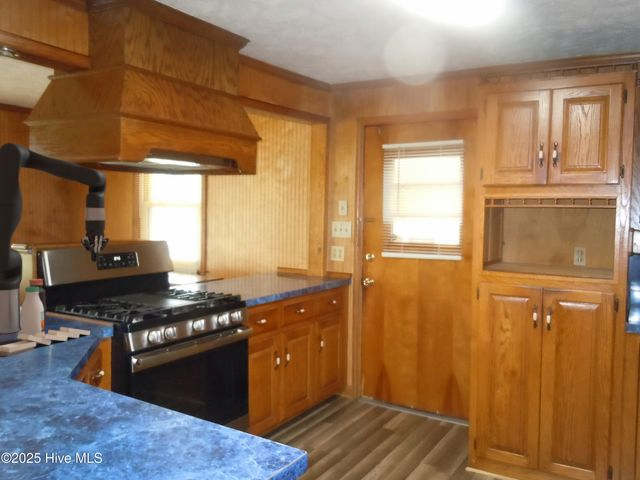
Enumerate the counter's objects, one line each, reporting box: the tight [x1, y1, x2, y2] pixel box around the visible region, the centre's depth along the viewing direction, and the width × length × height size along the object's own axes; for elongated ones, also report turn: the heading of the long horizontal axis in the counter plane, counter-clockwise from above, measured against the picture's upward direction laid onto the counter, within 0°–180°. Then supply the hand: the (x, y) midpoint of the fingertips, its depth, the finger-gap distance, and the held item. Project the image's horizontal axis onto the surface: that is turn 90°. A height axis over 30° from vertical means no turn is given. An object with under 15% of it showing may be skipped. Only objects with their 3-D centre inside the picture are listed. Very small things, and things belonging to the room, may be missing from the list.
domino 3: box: [16, 333, 52, 346], centre depth 190 cm, size 2×5×10 cm
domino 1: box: [0, 340, 37, 352], centre depth 184 cm, size 2×5×10 cm
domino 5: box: [47, 329, 80, 339], centre depth 201 cm, size 2×5×10 cm
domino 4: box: [35, 333, 69, 342], centre depth 196 cm, size 2×5×10 cm
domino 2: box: [0, 346, 35, 358], centre depth 183 cm, size 2×5×10 cm
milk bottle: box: [20, 286, 45, 341], centre depth 201 cm, size 8×8×20 cm
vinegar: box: [28, 278, 47, 328], centre depth 223 cm, size 7×7×20 cm
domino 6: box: [59, 326, 91, 336], centre depth 206 cm, size 2×5×10 cm
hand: (95, 261), depth 217 cm, fingers closed
